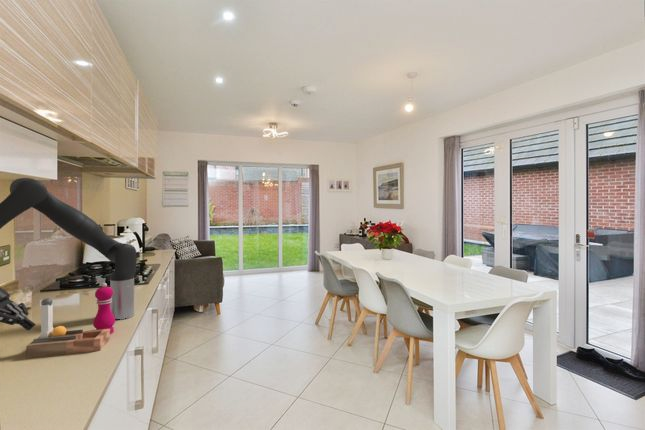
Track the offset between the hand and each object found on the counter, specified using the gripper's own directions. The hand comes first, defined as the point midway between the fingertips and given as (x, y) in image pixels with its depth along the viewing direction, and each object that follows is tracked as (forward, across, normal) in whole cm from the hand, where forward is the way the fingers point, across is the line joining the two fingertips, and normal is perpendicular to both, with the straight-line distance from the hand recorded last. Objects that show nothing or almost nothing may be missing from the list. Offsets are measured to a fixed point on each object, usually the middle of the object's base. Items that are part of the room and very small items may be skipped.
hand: (32, 327), depth 111 cm
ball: (+7, 0, -4) cm, 8 cm away
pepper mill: (+19, +12, -6) cm, 23 cm away
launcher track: (+14, 0, -2) cm, 14 cm away
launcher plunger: (+6, 0, 0) cm, 6 cm away
